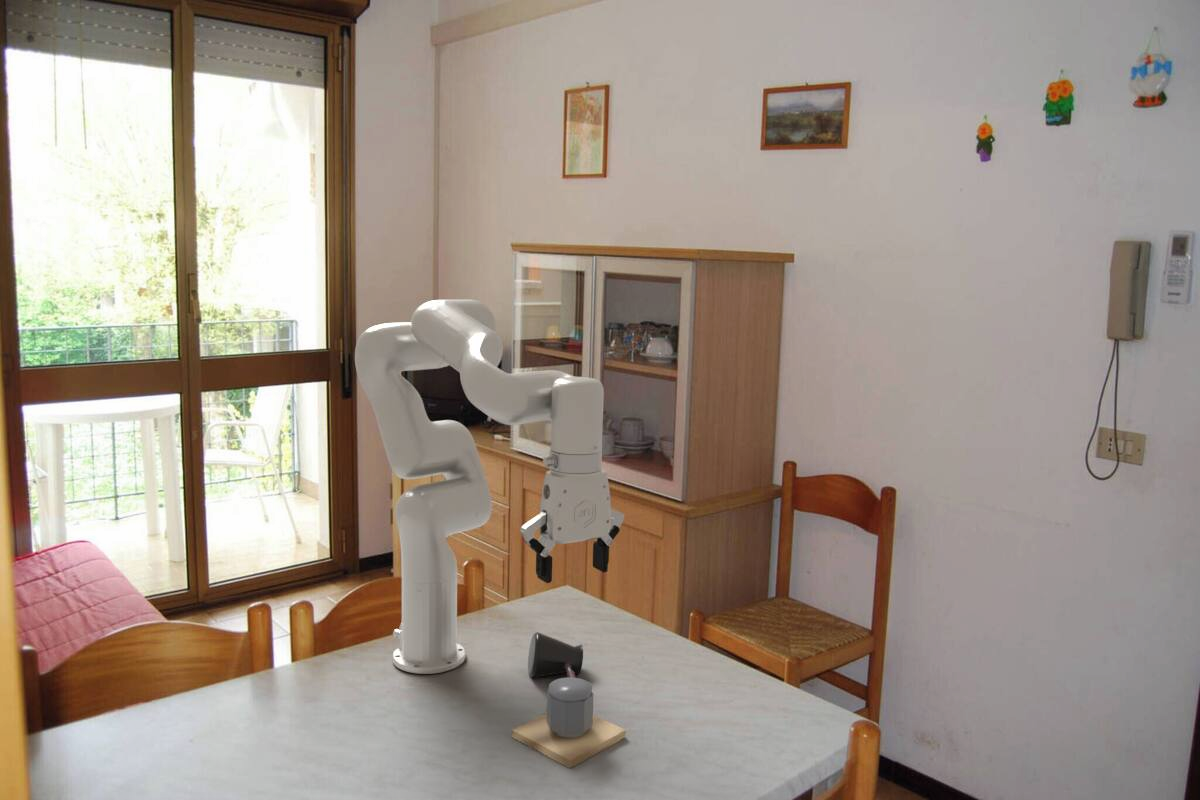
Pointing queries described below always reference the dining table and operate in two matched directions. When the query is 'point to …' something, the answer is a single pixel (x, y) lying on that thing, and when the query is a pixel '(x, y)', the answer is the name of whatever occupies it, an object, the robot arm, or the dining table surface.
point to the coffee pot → (553, 657)
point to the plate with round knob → (568, 740)
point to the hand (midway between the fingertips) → (572, 574)
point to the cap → (570, 706)
